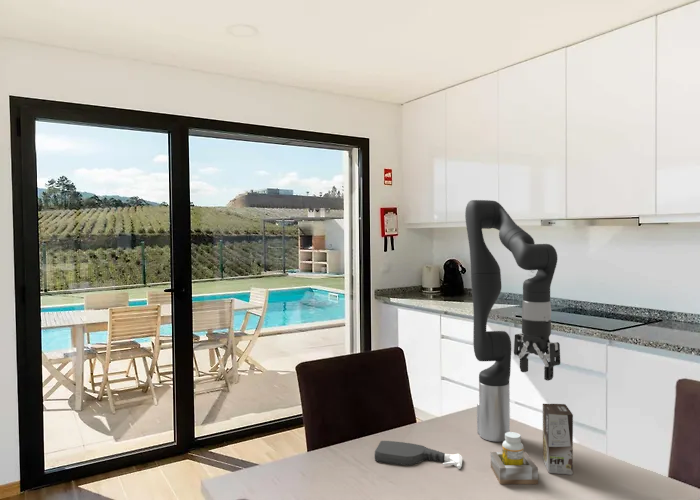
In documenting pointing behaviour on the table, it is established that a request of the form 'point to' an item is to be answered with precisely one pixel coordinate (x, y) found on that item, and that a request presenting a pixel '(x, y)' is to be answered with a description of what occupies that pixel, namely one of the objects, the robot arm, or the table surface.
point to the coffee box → (558, 438)
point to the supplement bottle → (512, 449)
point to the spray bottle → (412, 454)
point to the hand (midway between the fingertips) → (536, 375)
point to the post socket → (514, 470)
